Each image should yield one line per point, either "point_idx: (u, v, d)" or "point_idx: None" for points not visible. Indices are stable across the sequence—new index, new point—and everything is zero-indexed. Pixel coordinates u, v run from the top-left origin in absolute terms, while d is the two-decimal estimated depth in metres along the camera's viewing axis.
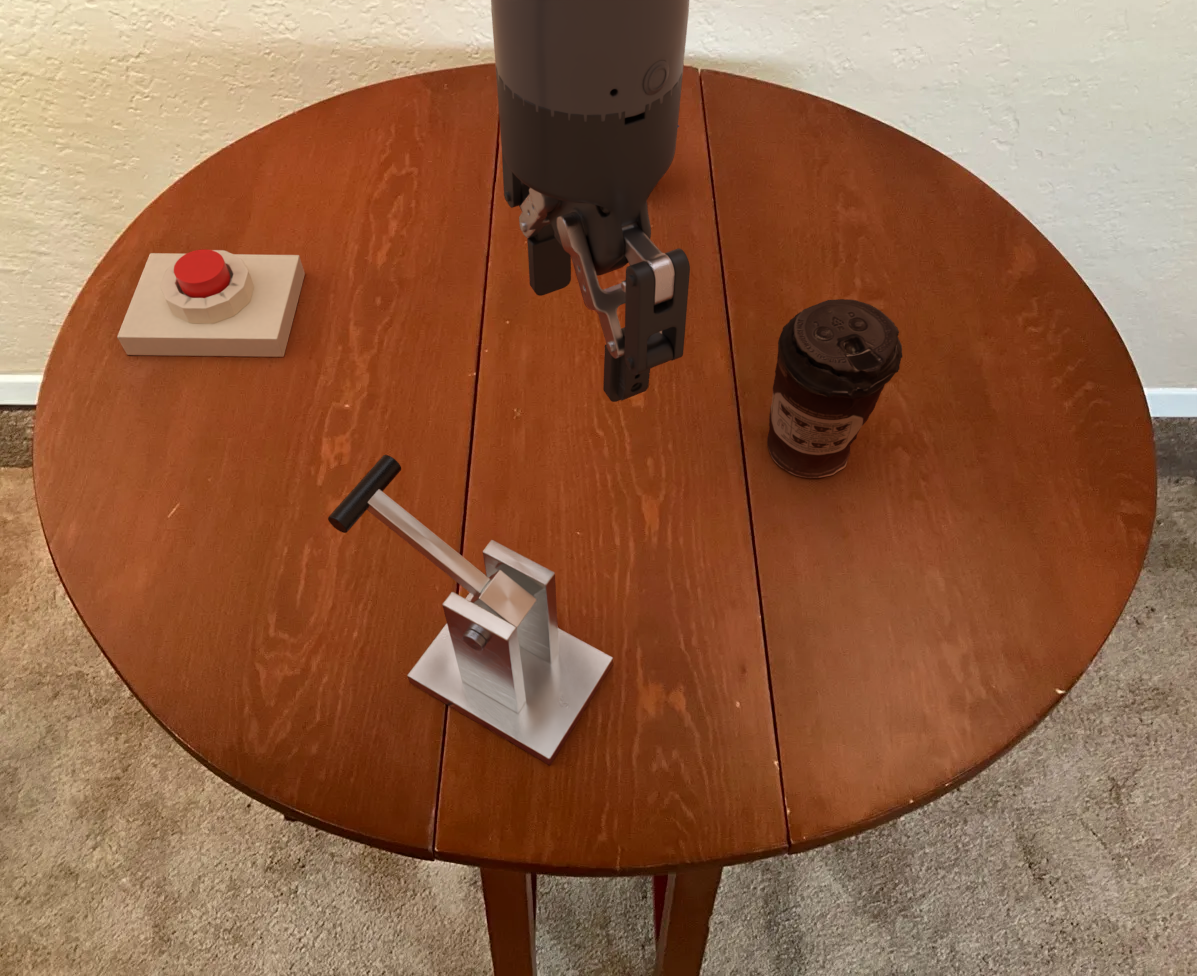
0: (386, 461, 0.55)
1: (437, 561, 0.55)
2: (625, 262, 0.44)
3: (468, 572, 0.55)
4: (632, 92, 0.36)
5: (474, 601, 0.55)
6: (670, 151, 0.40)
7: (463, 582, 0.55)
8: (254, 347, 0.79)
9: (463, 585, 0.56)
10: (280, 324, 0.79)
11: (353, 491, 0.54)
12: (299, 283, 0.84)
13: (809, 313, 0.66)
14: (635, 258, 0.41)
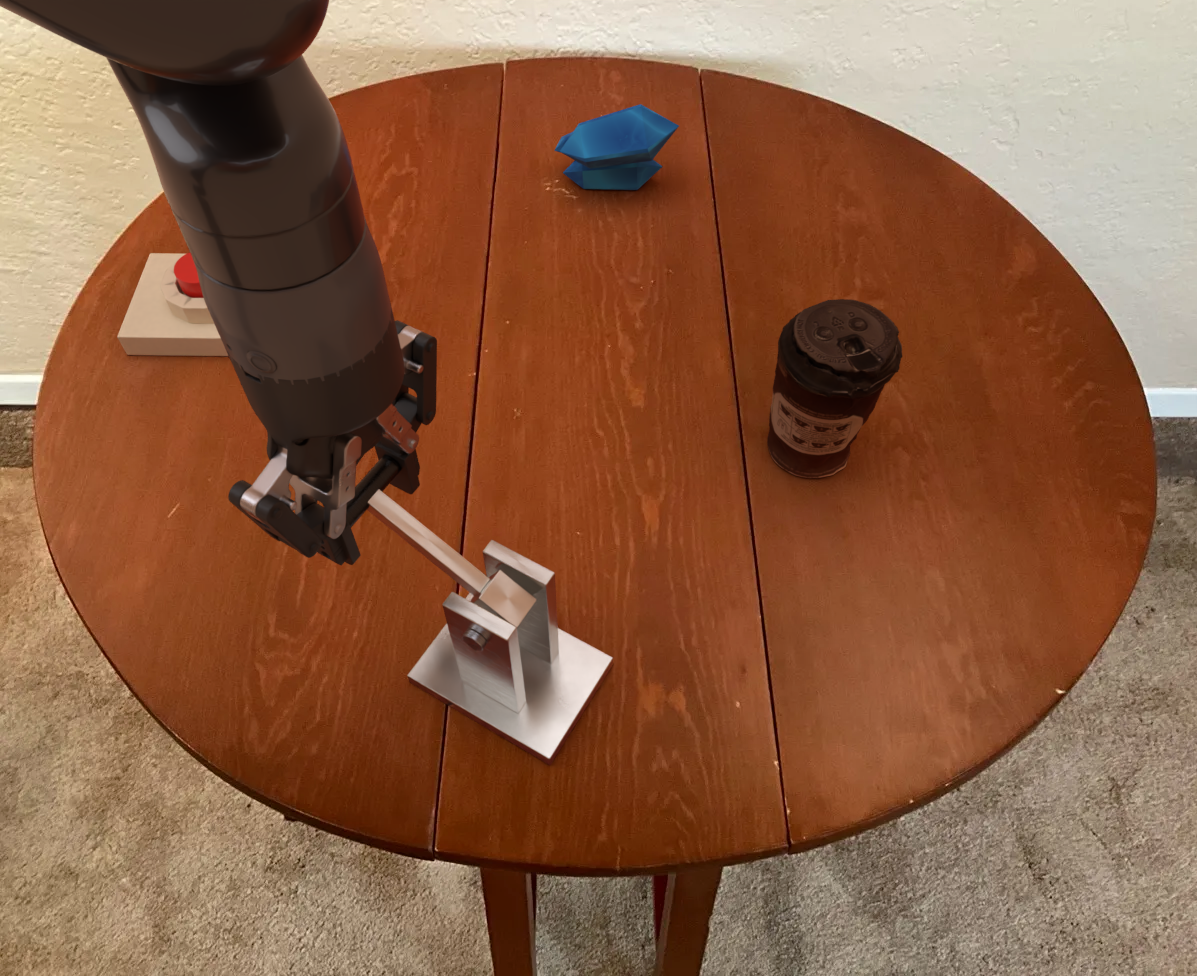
0: (386, 461, 0.55)
1: (437, 561, 0.55)
2: None
3: (468, 572, 0.55)
4: (241, 357, 0.41)
5: (474, 601, 0.55)
6: (318, 425, 0.44)
7: (463, 582, 0.55)
8: None
9: (463, 585, 0.56)
10: None
11: None
12: None
13: (809, 313, 0.66)
14: None
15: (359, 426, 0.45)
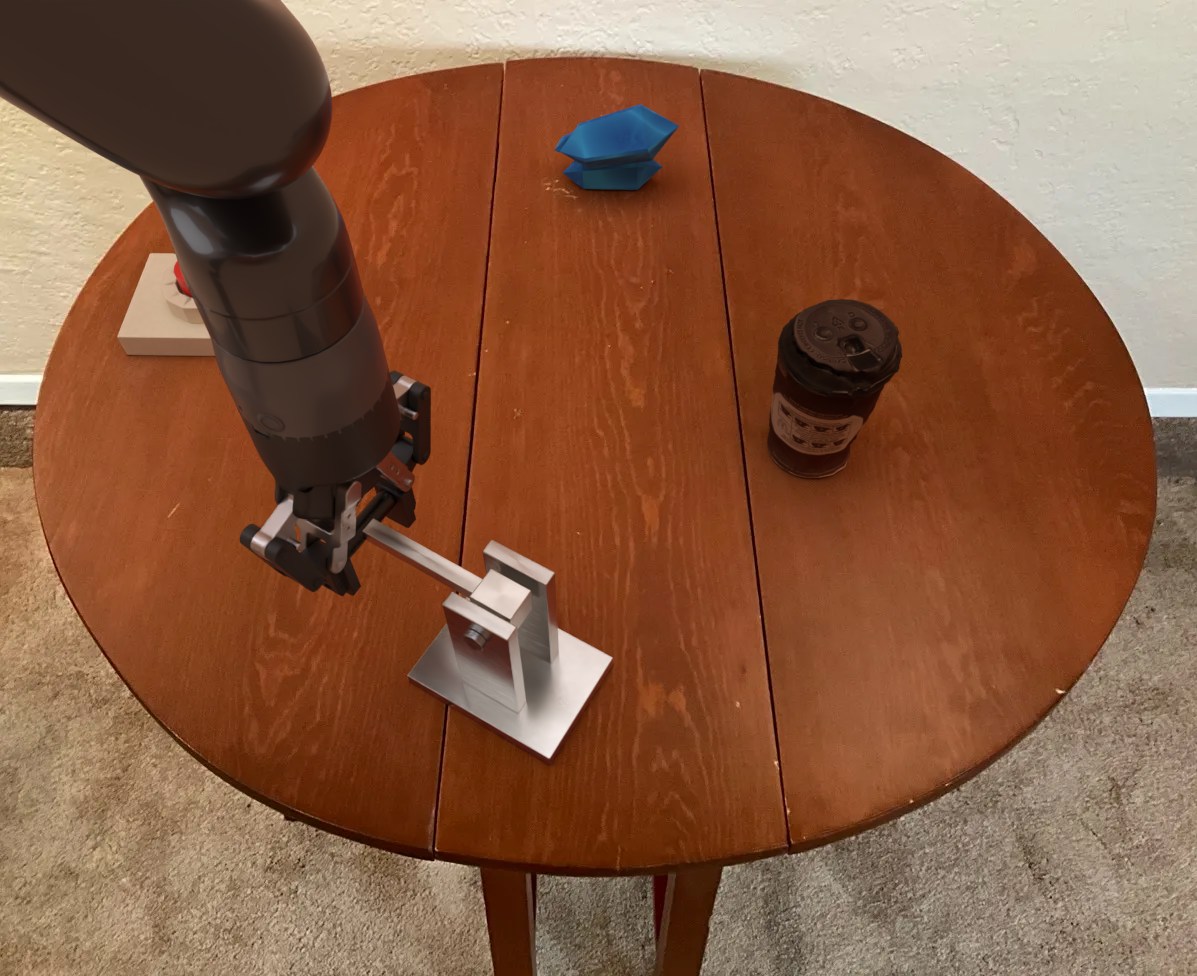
0: (379, 494, 0.59)
1: (433, 573, 0.57)
2: None
3: (462, 577, 0.56)
4: (252, 417, 0.45)
5: None
6: (322, 475, 0.48)
7: (460, 588, 0.56)
8: None
9: (462, 592, 0.57)
10: None
11: None
12: None
13: (809, 313, 0.66)
14: None
15: (359, 475, 0.49)
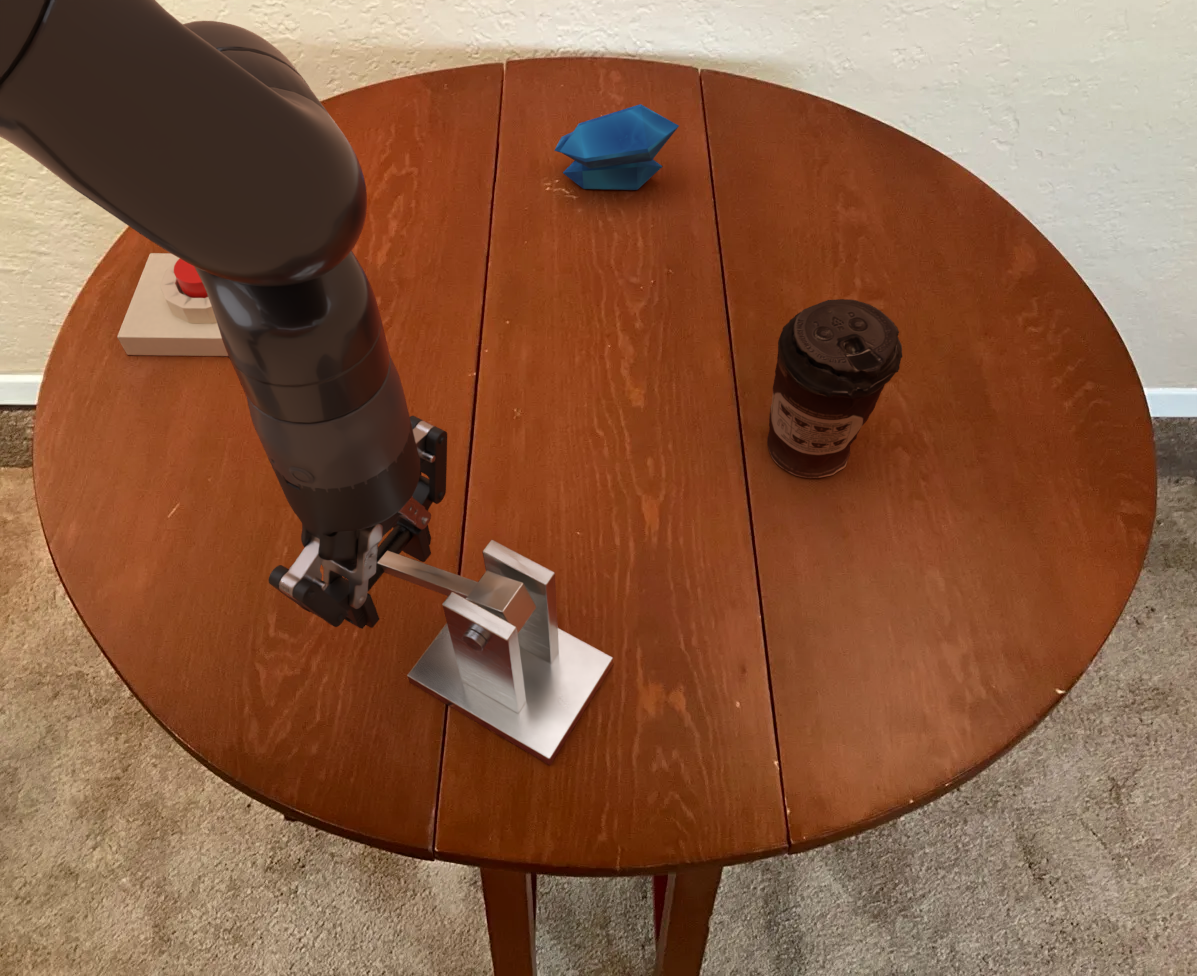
0: (394, 529, 0.62)
1: (438, 587, 0.58)
2: None
3: (464, 585, 0.57)
4: (284, 470, 0.48)
5: None
6: (348, 522, 0.51)
7: (462, 596, 0.57)
8: None
9: None
10: None
11: None
12: None
13: (809, 313, 0.66)
14: None
15: (382, 521, 0.52)
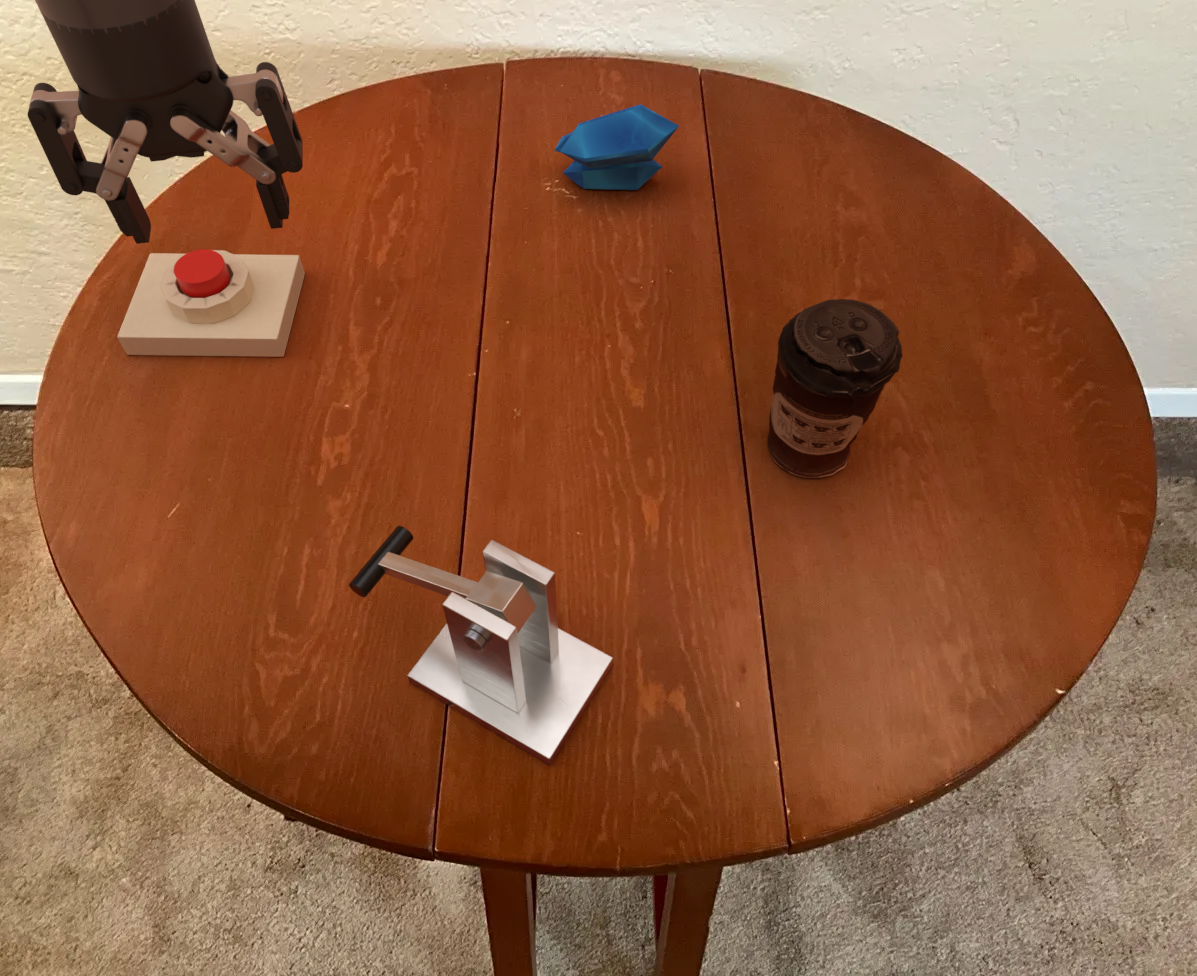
0: (394, 530, 0.62)
1: (438, 587, 0.58)
2: None
3: (464, 586, 0.57)
4: None
5: None
6: (74, 74, 0.51)
7: (462, 596, 0.57)
8: (254, 347, 0.79)
9: None
10: (280, 324, 0.79)
11: (368, 561, 0.61)
12: (299, 283, 0.84)
13: (809, 313, 0.66)
14: None
15: (104, 97, 0.52)
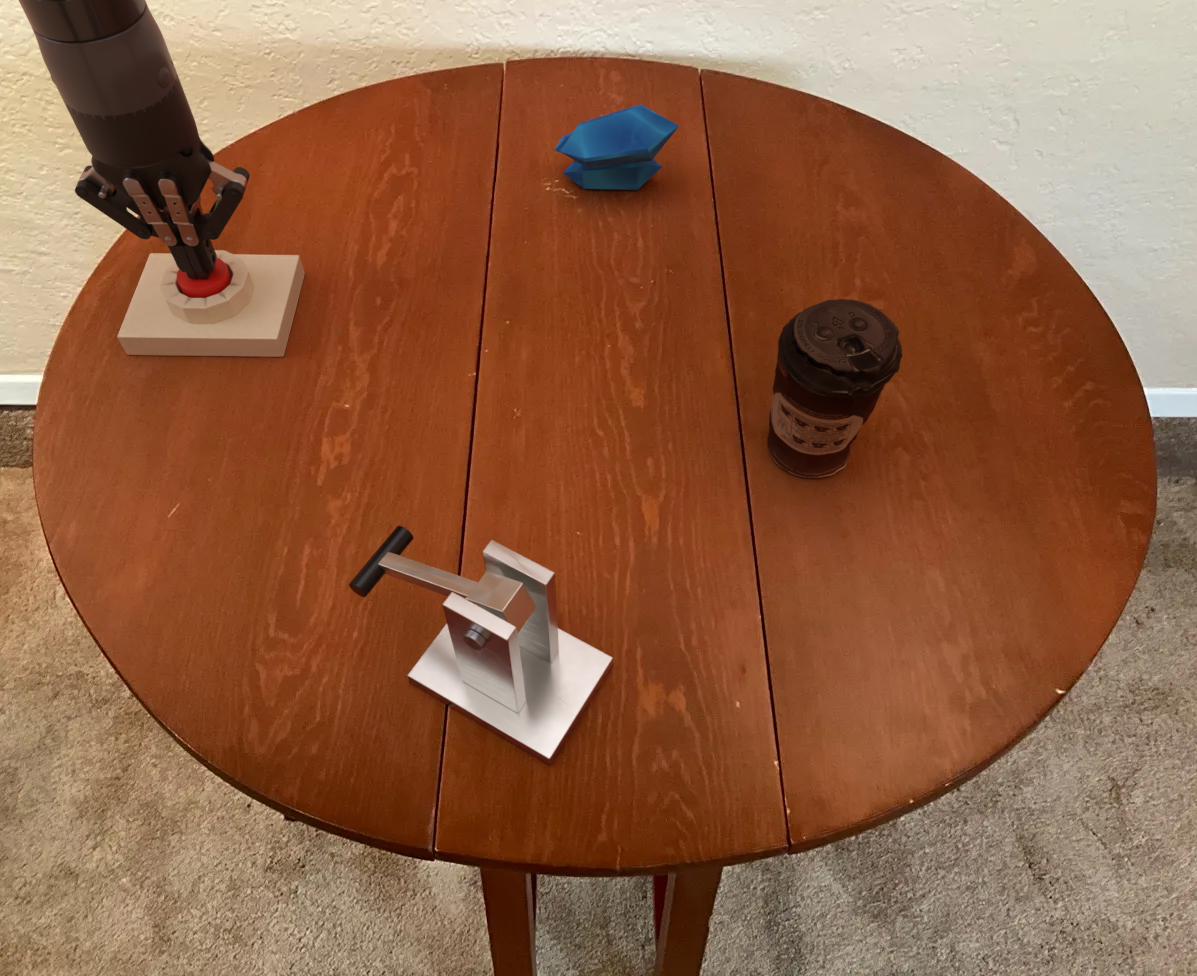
0: (394, 530, 0.62)
1: (438, 587, 0.58)
2: None
3: (464, 586, 0.57)
4: None
5: None
6: (84, 142, 0.66)
7: (462, 596, 0.57)
8: (254, 347, 0.79)
9: None
10: (280, 324, 0.79)
11: (368, 561, 0.61)
12: (299, 283, 0.84)
13: (809, 313, 0.66)
14: None
15: (104, 162, 0.66)
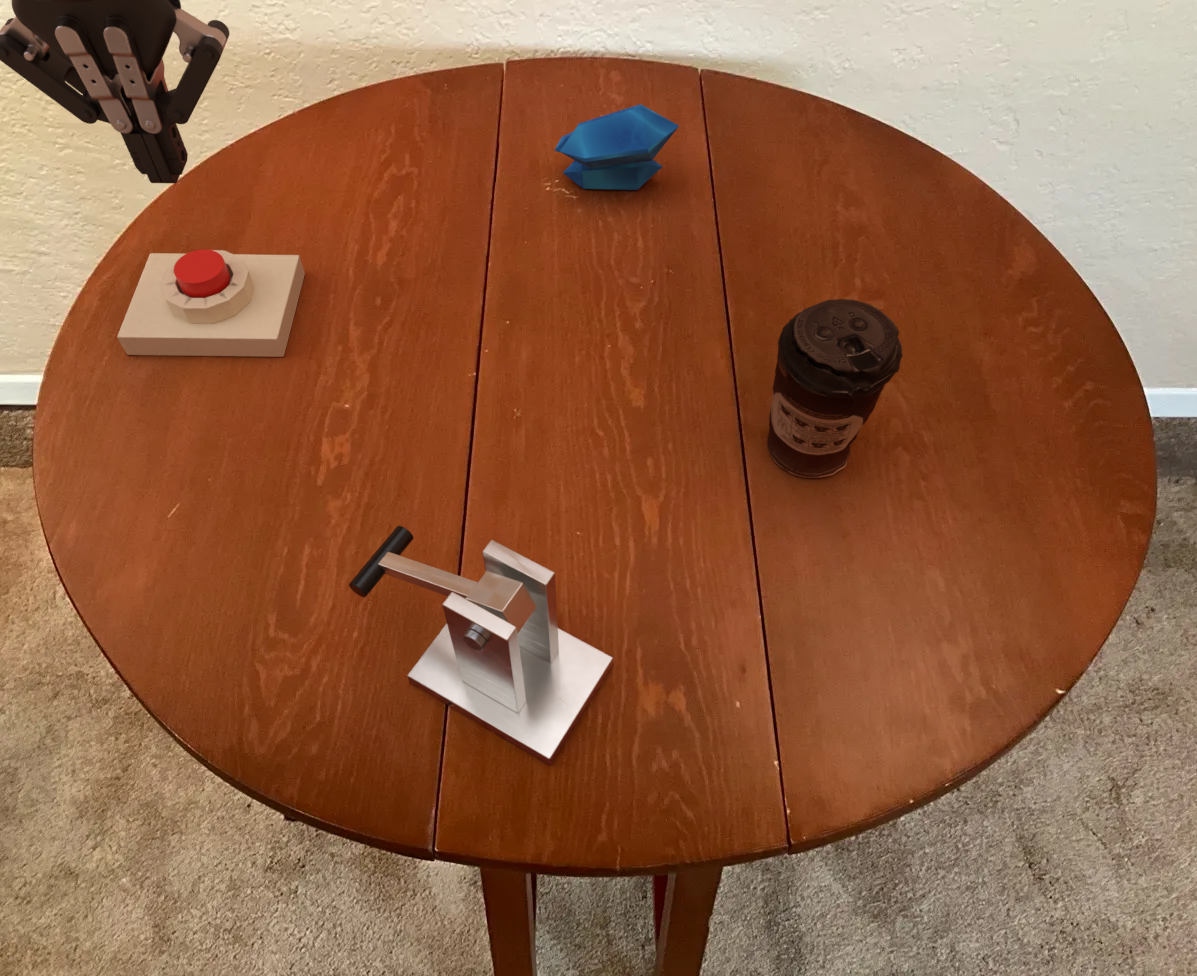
0: (394, 530, 0.62)
1: (438, 587, 0.58)
2: None
3: (464, 586, 0.57)
4: None
5: None
6: None
7: (462, 596, 0.57)
8: (254, 347, 0.79)
9: None
10: (280, 324, 0.79)
11: (368, 561, 0.61)
12: (299, 283, 0.84)
13: (809, 313, 0.66)
14: None
15: None
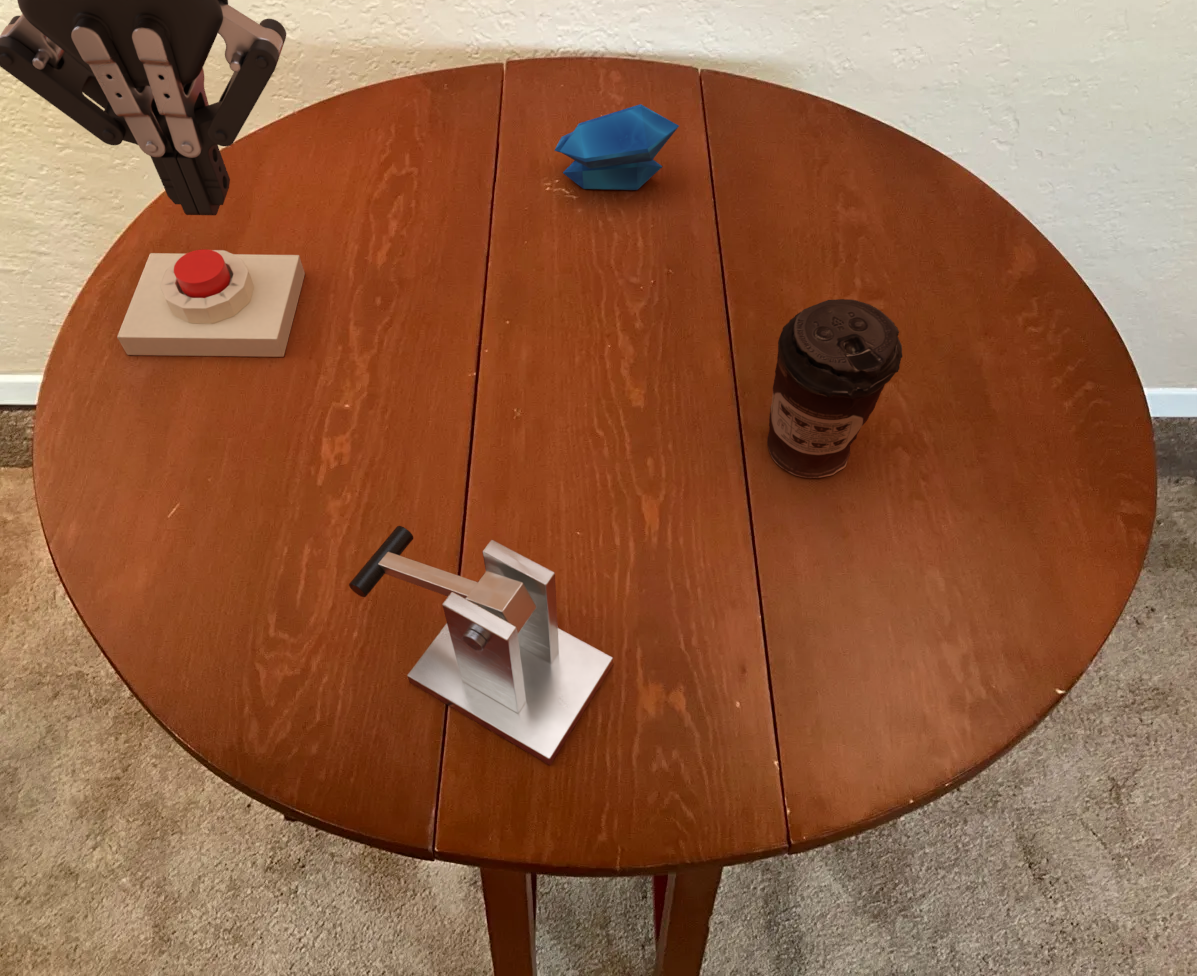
0: (394, 530, 0.62)
1: (438, 587, 0.58)
2: None
3: (464, 586, 0.57)
4: None
5: None
6: None
7: (462, 596, 0.57)
8: (254, 347, 0.79)
9: None
10: (280, 324, 0.79)
11: (368, 561, 0.61)
12: (299, 283, 0.84)
13: (809, 313, 0.66)
14: None
15: None
